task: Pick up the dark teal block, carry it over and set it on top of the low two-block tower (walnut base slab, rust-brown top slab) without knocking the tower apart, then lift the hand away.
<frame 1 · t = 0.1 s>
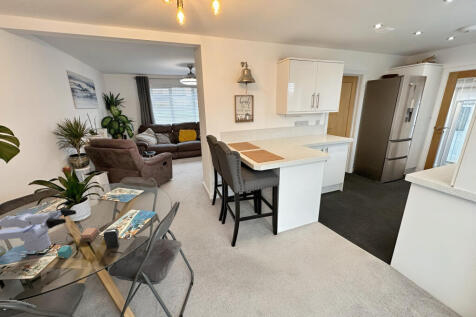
hand: (70, 216, 101), 22 cm above the table, tool horizontal, fingers open, 7 cm apart
battery: (113, 245, 111), on the table
tower base: (90, 237, 116), on the table, touching tower top
teal block: (66, 255, 102), on the table
tower top: (89, 234, 115), point 2 cm above the table, touching tower base
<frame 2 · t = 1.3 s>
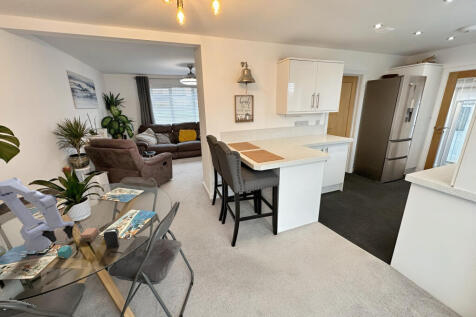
hand: (63, 239, 99), 11 cm above the table, tool pointing down, fingers open, 7 cm apart
nothing on the table moved.
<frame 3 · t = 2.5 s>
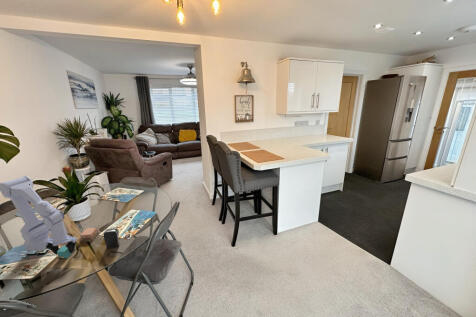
hand: (65, 252, 101), 2 cm above the table, tool pointing down, fingers open, 7 cm apart
nothing on the table moved.
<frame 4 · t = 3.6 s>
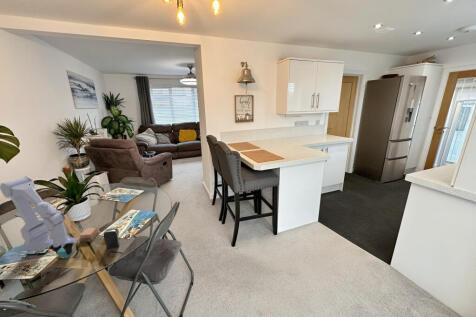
hand: (65, 253, 102), 1 cm above the table, tool pointing down, fingers closed on teal block, 4 cm apart
teal block: (65, 255, 102), on the table, touching gripper
everything else where it was.
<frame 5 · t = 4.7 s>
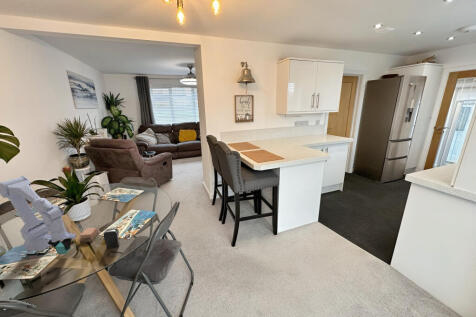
hand: (63, 249, 101), 5 cm above the table, tool pointing down, fingers closed on teal block, 4 cm apart
teal block: (64, 251, 101), point 3 cm above the table, touching gripper
everything else where it was.
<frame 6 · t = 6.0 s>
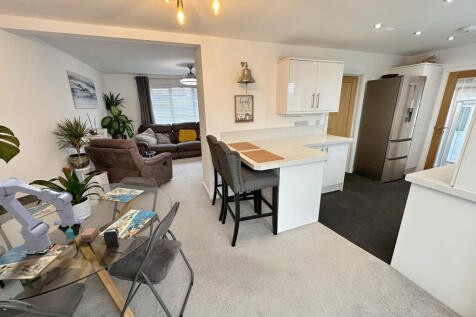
hand: (72, 234, 105), 9 cm above the table, tool pointing down, fingers closed on teal block, 4 cm apart
tower base: (89, 238, 115), on the table
teal block: (73, 236, 105), point 8 cm above the table, touching gripper
tower top: (89, 234, 115), point 2 cm above the table
everything else where it was.
when the fingers open (7 cm above the table, at t = 7.9 s): teal block drops 1 cm, point 5 cm above the table.
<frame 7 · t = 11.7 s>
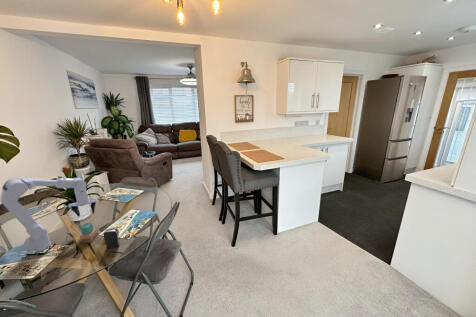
hand: (86, 214, 121), 10 cm above the table, tool pointing down, fingers open, 7 cm apart
tower base: (89, 239, 115), on the table, touching tower top
teal block: (88, 232, 114), point 5 cm above the table
tower top: (88, 235, 114), point 2 cm above the table, touching tower base
everything else where it was.
at the end: teal block 0.3 cm off-centre on the tower base, point 5.1 cm above the tower base's base; teal block tilted 0°; tower top 0.2 cm from the tower base (horizontally) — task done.
